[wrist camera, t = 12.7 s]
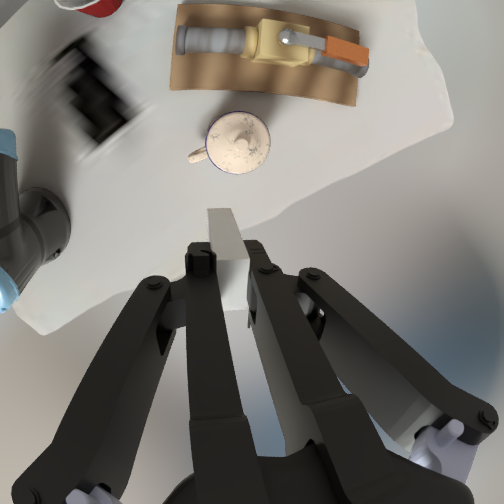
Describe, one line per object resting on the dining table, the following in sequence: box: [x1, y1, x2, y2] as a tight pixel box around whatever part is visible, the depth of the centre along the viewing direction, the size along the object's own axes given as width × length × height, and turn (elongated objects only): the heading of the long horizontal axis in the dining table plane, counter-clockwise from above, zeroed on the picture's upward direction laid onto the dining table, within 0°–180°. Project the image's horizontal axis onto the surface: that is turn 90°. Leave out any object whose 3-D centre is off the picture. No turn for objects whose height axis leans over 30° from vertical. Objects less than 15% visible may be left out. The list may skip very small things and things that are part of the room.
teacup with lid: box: [188, 111, 271, 174], centre depth 38 cm, size 12×9×12 cm
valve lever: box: [278, 29, 369, 67], centre depth 29 cm, size 14×3×2 cm, turn 85°
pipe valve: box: [170, 4, 369, 106], centre depth 33 cm, size 32×16×9 cm, turn 86°
